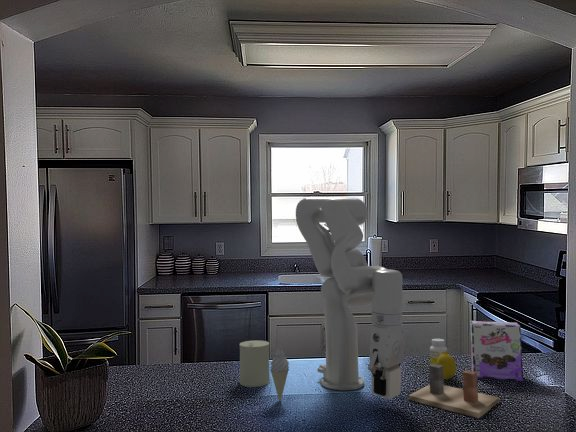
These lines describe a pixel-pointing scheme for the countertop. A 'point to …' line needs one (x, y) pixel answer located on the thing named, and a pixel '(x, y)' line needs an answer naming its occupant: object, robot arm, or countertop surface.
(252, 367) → the can
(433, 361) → the supplement bottle
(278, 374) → the ice cream cone
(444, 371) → the lemon
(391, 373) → the white rectangular block
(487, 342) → the candy box
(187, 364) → the countertop surface
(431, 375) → the stand
